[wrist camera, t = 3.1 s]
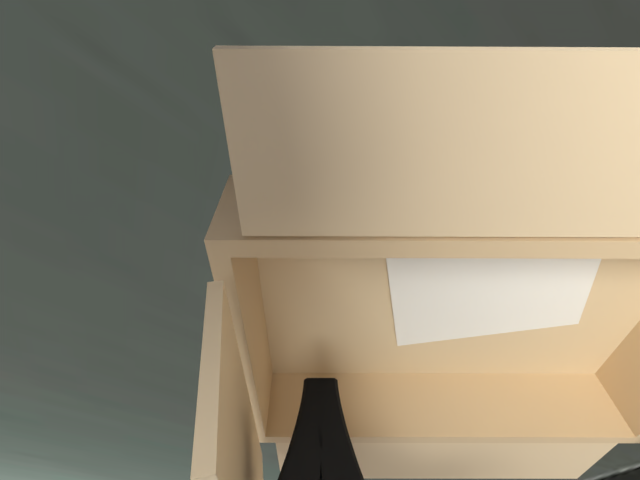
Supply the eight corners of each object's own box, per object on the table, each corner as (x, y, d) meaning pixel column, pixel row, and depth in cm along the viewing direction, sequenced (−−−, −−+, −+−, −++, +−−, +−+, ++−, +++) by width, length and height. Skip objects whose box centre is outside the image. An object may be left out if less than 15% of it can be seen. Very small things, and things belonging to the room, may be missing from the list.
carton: (203, 19, 10) (157, 49, 7) (898, 22, 10) (1129, 53, 7) (269, 414, 23) (262, 479, 20) (562, 415, 23) (595, 479, 20)
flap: (223, 280, 9) (207, 282, 9) (215, 474, 6) (190, 479, 6) (262, 454, 16) (252, 455, 16) (269, 593, 13) (257, 596, 13)
